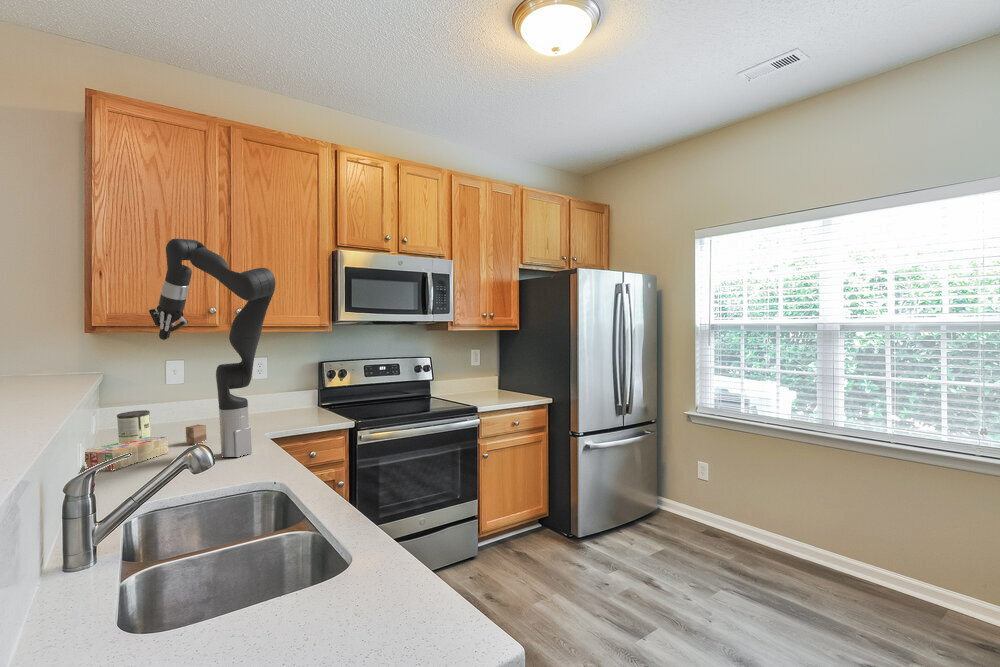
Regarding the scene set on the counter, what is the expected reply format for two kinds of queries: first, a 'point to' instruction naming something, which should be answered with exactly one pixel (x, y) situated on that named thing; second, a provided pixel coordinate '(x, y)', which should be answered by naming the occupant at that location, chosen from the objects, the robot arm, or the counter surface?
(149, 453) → the stack of blocks
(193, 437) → the walnut block
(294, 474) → the counter surface
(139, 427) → the coffee can
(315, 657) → the counter surface
